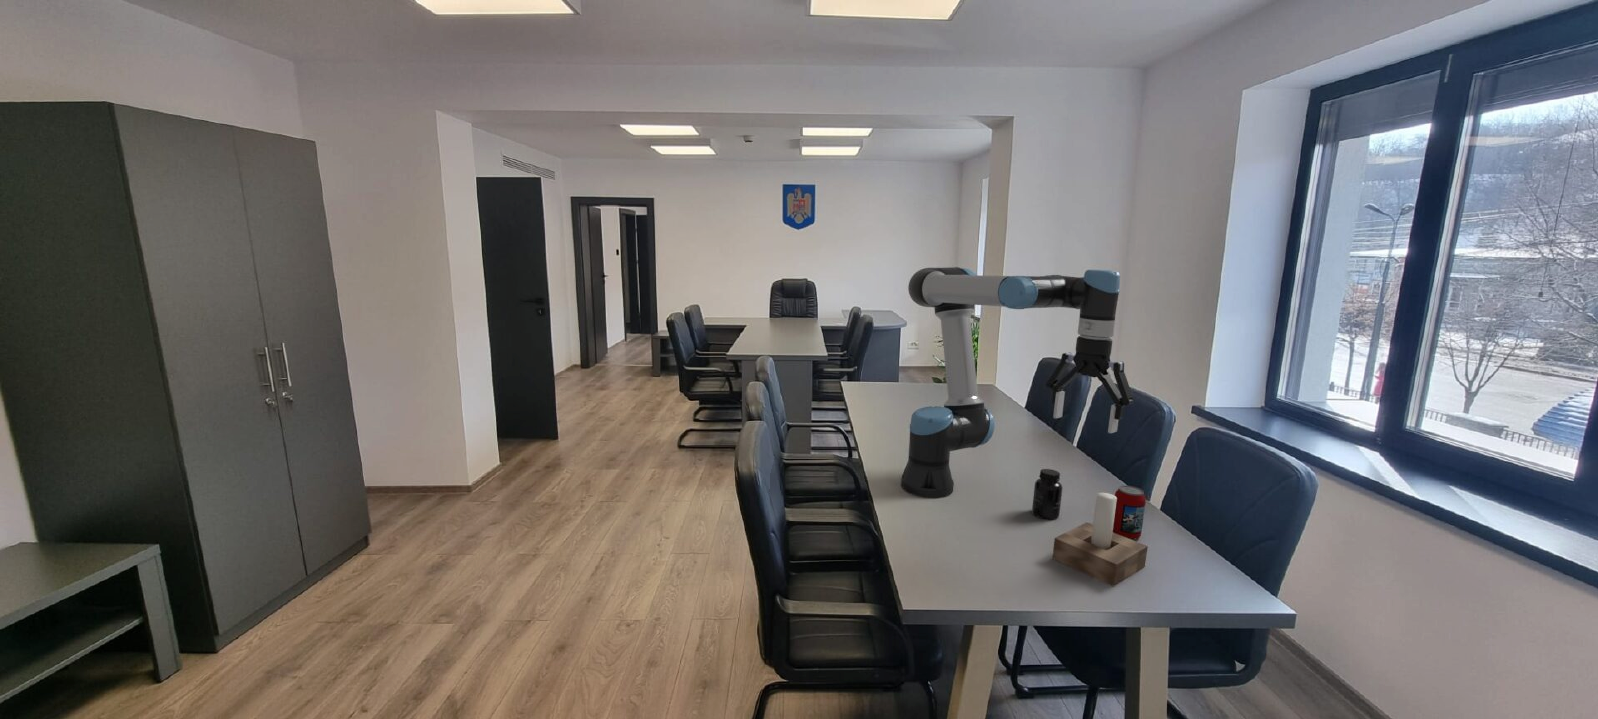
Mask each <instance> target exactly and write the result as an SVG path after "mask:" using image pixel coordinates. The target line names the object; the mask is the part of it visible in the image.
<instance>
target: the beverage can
mask: <svg viewBox="0 0 1598 719" xmlns="http://www.w3.org/2000/svg"><path fill="white" fill-rule="evenodd" d="M1114 496H1116V497H1117V501H1116V509H1115V516H1114V524H1113V531H1112V532H1113V533H1115V534H1118V535H1121V536H1123V537H1126V538H1128V539H1131V540H1136V539H1139V538H1141V536H1142V531H1143V524H1144V519H1145V518H1144V517H1145V511H1146V510H1145V509H1146V502H1147V498H1146V496H1145V494H1144V491H1143V489H1141V488H1139V487H1136V486H1131V485H1120V486H1119V487H1118V489H1117V490H1116V491H1115V492H1114Z"/></svg>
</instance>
